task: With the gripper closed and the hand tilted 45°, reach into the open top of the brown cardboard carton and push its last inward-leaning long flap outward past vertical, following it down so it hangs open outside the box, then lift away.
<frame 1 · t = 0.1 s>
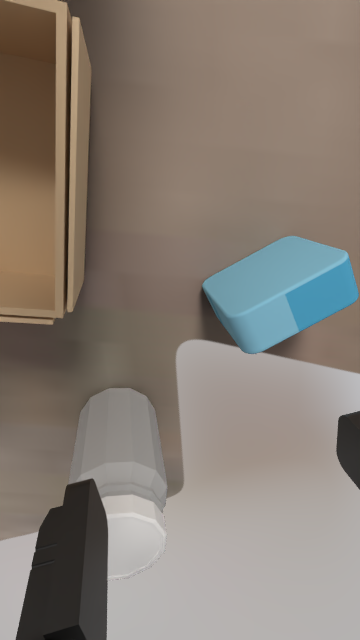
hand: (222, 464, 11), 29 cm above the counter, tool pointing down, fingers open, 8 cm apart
carton: (4, 173, 32), on the counter
jar: (118, 412, 44), on the counter
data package: (249, 273, 40), on the counter
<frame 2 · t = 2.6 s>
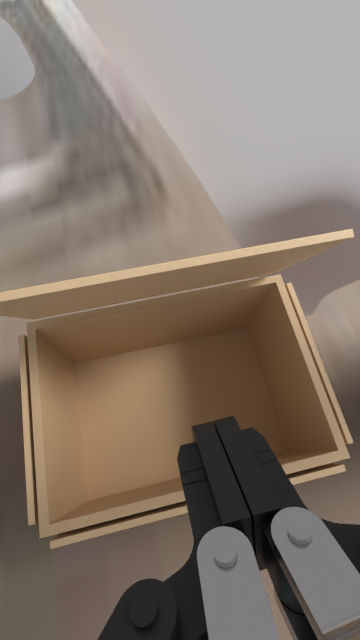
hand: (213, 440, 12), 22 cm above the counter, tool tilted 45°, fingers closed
carton: (176, 406, 33), on the counter
flap: (160, 282, 20), point 16 cm above the counter, hinge at -20.0°
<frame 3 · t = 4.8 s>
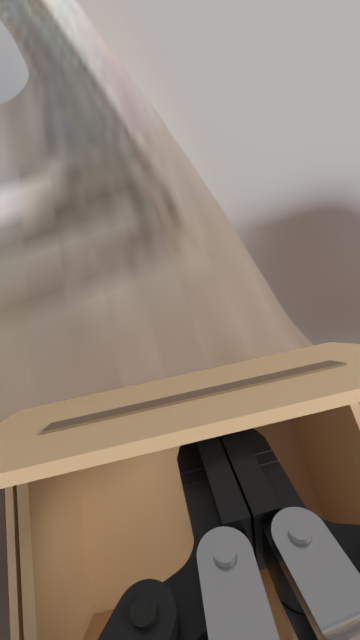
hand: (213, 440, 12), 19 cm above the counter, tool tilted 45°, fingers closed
carton: (197, 486, 28), on the counter
flap: (195, 393, 14), point 16 cm above the counter, hinge at -19.5°, touching gripper
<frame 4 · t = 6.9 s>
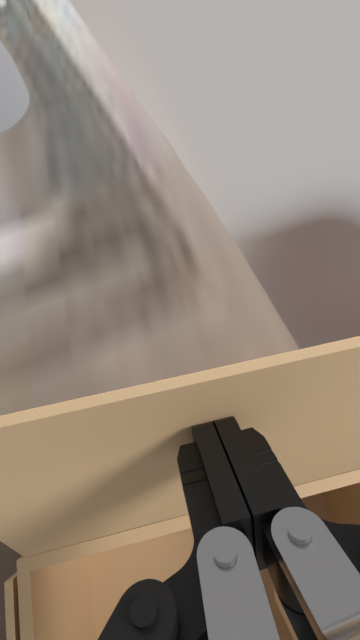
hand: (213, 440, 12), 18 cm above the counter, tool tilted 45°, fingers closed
carton: (221, 583, 25), on the counter
flap: (214, 452, 13), point 16 cm above the counter, hinge at 28.5°, touching gripper
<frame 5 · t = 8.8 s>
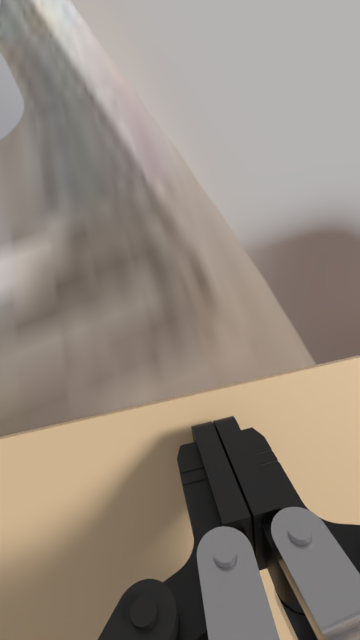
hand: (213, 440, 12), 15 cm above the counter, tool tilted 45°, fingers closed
flap: (235, 525, 12), point 13 cm above the counter, hinge at 71.1°, touching gripper
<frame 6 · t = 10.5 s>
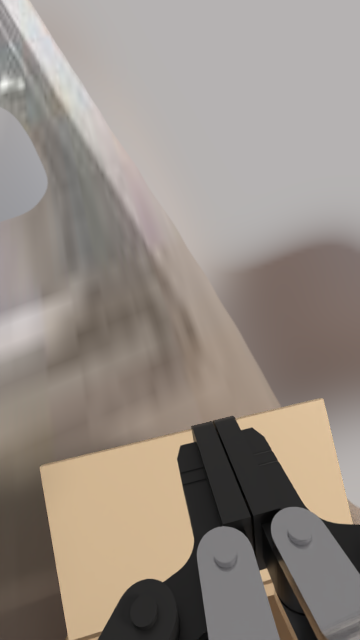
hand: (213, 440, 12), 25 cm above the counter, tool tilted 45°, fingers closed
flap: (204, 509, 21), point 13 cm above the counter, hinge at 73.4°
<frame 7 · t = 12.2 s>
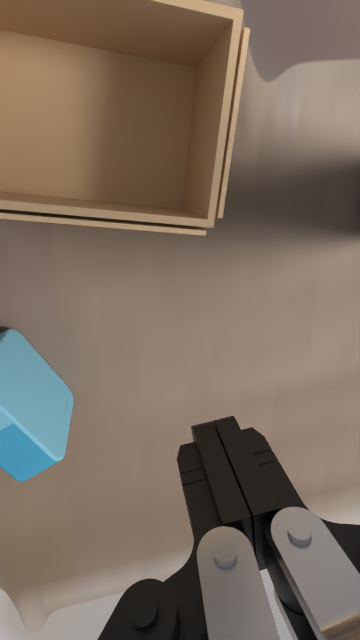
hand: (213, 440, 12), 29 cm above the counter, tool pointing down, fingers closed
carton: (93, 130, 32), on the counter
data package: (30, 369, 41), on the counter
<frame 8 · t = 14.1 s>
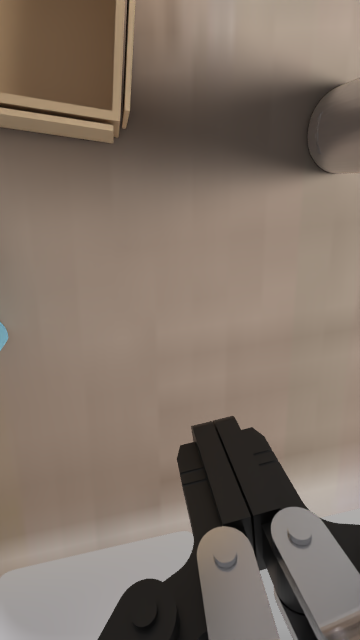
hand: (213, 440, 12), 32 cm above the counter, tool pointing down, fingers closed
carton: (12, 36, 31), on the counter
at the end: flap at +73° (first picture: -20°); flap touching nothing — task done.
